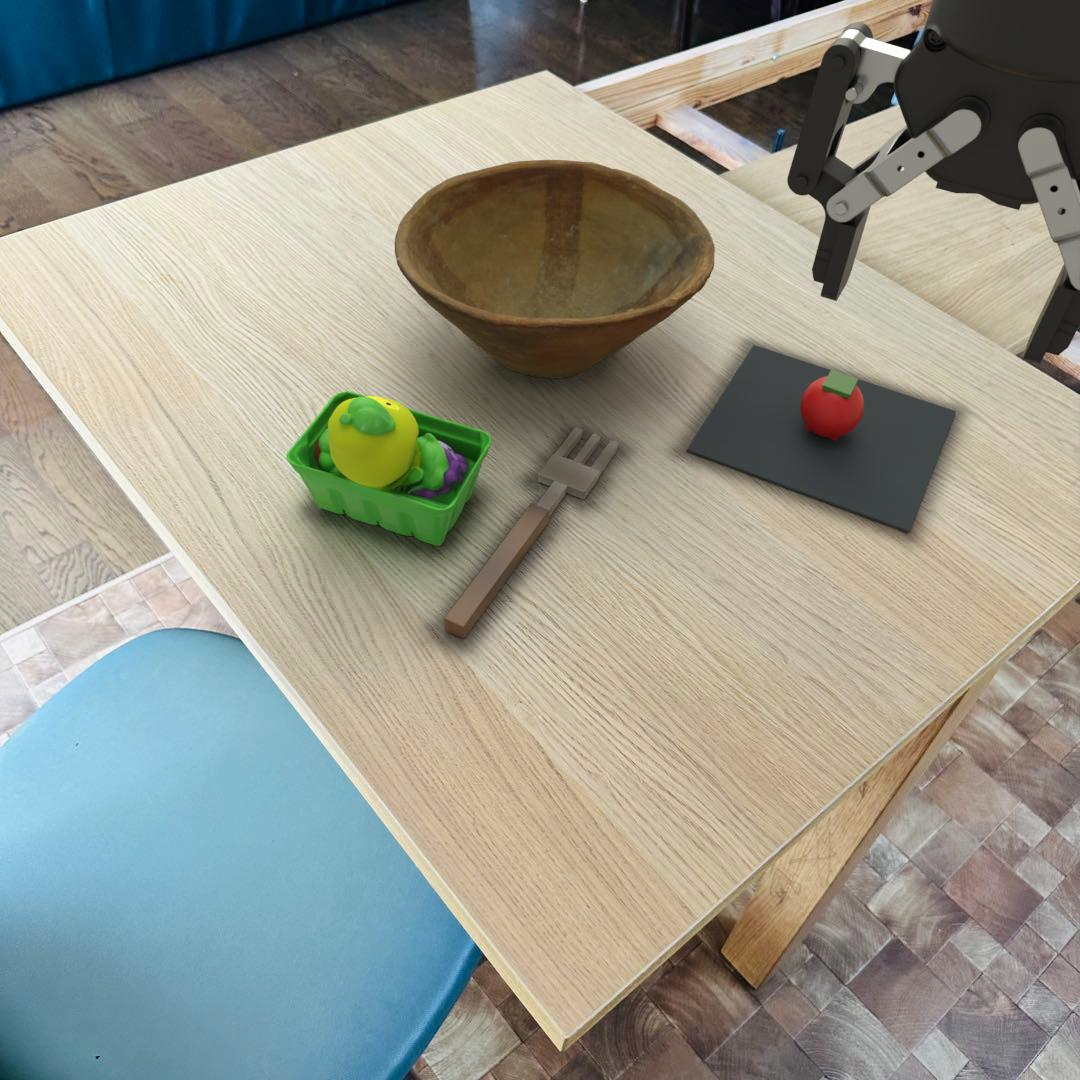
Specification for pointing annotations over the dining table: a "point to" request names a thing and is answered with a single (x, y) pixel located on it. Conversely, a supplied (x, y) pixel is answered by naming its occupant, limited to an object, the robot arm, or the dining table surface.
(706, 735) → the dining table surface
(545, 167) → the bowl
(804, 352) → the dining table surface
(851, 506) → the placemat
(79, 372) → the dining table surface
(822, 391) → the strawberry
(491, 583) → the fork
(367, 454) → the fruit basket
